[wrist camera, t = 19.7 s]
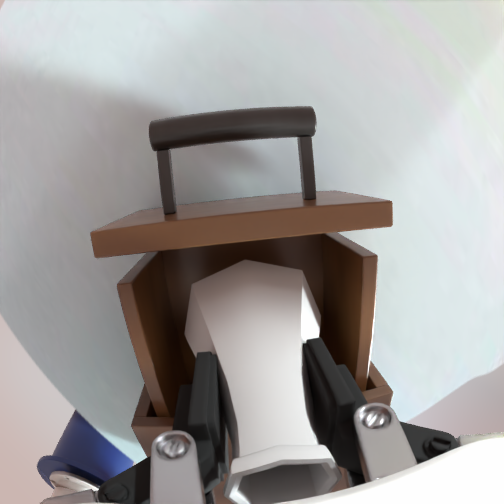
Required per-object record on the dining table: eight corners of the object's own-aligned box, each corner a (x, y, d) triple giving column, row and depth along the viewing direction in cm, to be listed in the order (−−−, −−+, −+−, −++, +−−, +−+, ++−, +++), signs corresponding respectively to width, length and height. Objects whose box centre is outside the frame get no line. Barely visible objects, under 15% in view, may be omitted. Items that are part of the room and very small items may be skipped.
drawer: (130, 140, 18) (77, 123, 10) (329, 121, 19) (384, 96, 11) (178, 395, 23) (167, 465, 16) (334, 376, 24) (366, 439, 16)
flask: (316, 248, 15) (440, 359, 5) (319, 366, 17) (383, 505, 7) (171, 267, 15) (97, 410, 5) (198, 383, 16) (186, 536, 7)
